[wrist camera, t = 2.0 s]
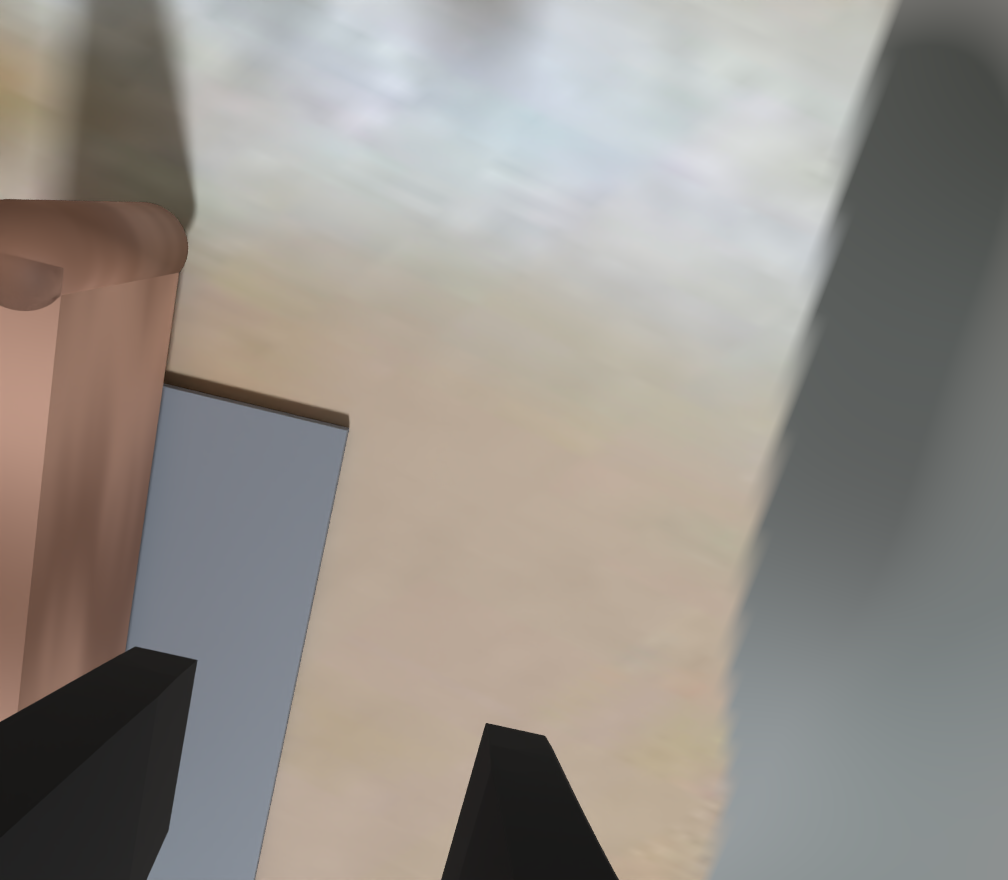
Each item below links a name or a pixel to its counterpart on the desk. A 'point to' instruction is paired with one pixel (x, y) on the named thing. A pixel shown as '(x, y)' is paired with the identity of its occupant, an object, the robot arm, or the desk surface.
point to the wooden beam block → (77, 427)
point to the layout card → (231, 606)
